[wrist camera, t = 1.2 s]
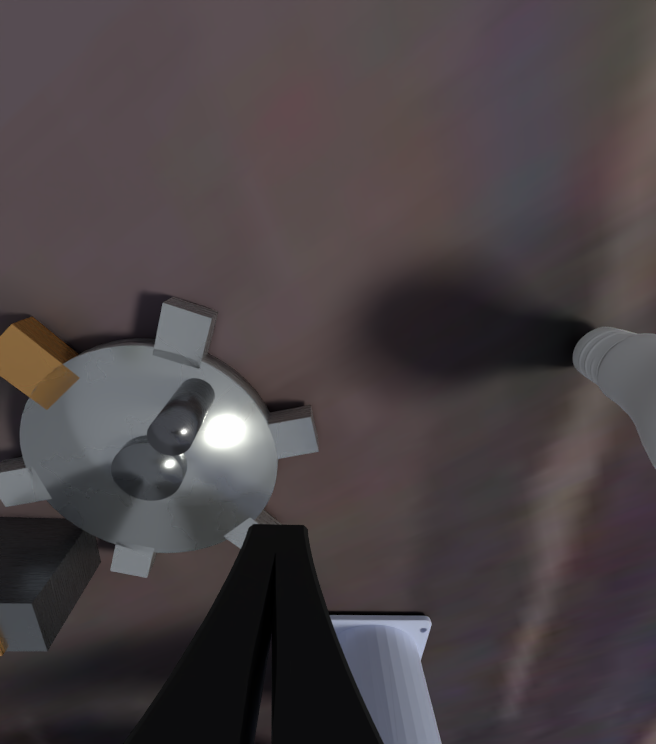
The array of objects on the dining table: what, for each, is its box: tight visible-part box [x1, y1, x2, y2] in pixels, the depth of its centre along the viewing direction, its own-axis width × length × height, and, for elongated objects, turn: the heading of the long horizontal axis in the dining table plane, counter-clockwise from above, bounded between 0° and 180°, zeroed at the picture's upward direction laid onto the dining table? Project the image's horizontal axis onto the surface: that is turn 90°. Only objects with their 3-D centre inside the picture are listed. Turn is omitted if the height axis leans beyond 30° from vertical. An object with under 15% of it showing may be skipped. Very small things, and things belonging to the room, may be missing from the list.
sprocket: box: [0, 297, 319, 578], centre depth 17 cm, size 16×16×5 cm
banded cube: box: [0, 517, 101, 656], centre depth 19 cm, size 3×5×5 cm
